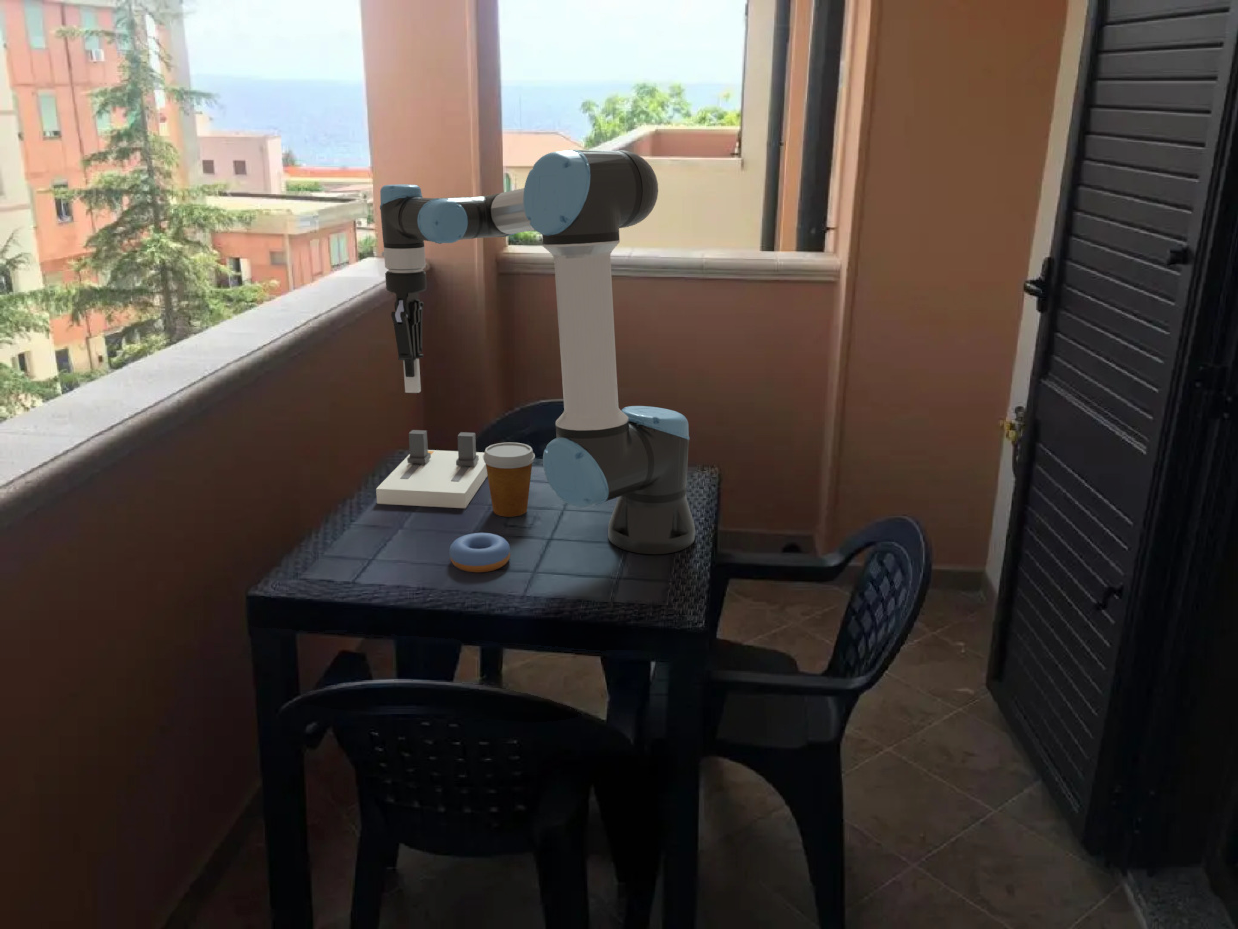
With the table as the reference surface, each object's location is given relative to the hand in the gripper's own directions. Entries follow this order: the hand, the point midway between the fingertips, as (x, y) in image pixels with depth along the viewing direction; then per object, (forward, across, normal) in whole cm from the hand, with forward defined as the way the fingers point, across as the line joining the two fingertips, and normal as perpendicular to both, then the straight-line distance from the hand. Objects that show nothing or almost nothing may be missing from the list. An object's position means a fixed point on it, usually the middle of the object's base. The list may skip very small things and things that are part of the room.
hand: (413, 391), depth 191 cm
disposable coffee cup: (+19, +14, +22) cm, 32 cm away
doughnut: (+19, +36, +21) cm, 47 cm away
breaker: (+15, -2, +10) cm, 18 cm away
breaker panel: (+18, +2, +5) cm, 19 cm away
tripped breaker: (+15, -2, 0) cm, 15 cm away
